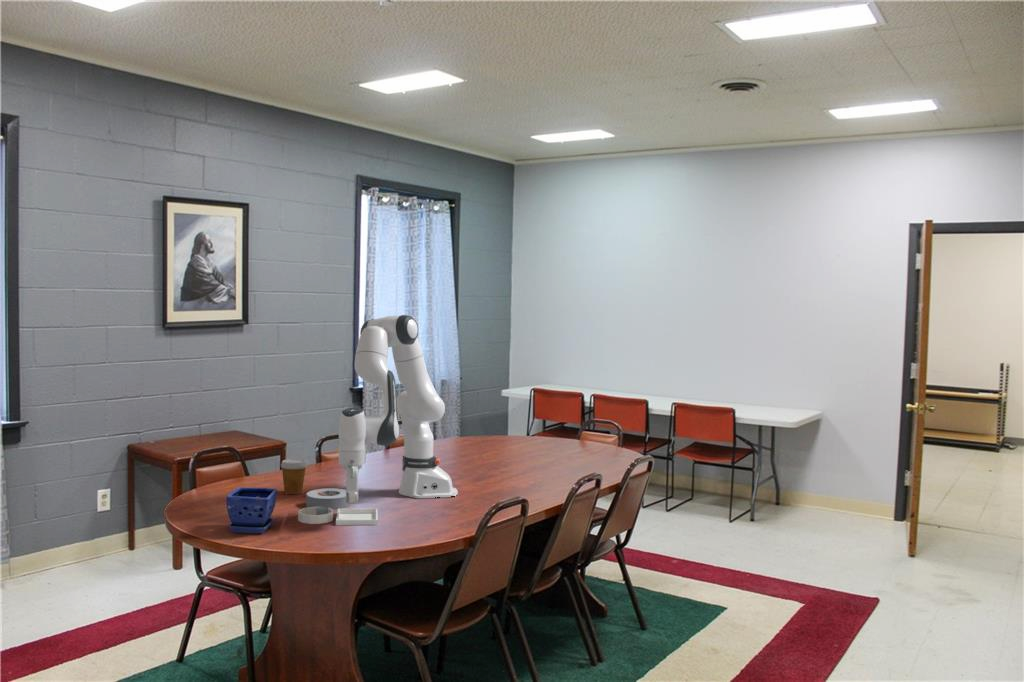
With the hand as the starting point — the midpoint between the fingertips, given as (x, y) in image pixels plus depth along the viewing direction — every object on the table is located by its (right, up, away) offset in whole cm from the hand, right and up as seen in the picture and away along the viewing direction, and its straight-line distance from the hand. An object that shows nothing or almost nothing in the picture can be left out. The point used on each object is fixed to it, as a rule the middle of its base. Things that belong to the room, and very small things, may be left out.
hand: (352, 499), depth 274 cm
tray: (+2, -7, +1) cm, 7 cm away
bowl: (-12, -7, -2) cm, 14 cm away
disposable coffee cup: (-29, -5, +36) cm, 46 cm away
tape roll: (-12, -6, +18) cm, 23 cm away
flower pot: (-29, -7, -13) cm, 33 cm away
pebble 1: (-10, -6, -1) cm, 12 cm away
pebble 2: (0, -1, 0) cm, 1 cm away
